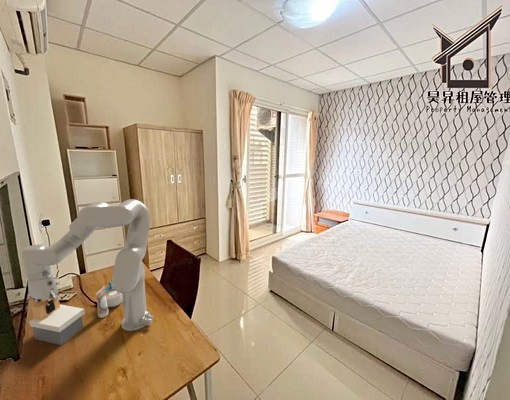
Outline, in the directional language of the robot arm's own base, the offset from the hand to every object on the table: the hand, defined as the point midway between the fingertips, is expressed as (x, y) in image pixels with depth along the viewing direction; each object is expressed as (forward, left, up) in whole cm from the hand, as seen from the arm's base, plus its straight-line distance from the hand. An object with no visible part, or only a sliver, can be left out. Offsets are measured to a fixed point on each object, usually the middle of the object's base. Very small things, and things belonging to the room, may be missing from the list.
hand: (46, 310), depth 101 cm
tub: (-5, 0, -11) cm, 12 cm away
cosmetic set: (-13, -23, -11) cm, 28 cm away
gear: (0, -30, -7) cm, 31 cm away
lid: (-6, 0, -4) cm, 7 cm away
